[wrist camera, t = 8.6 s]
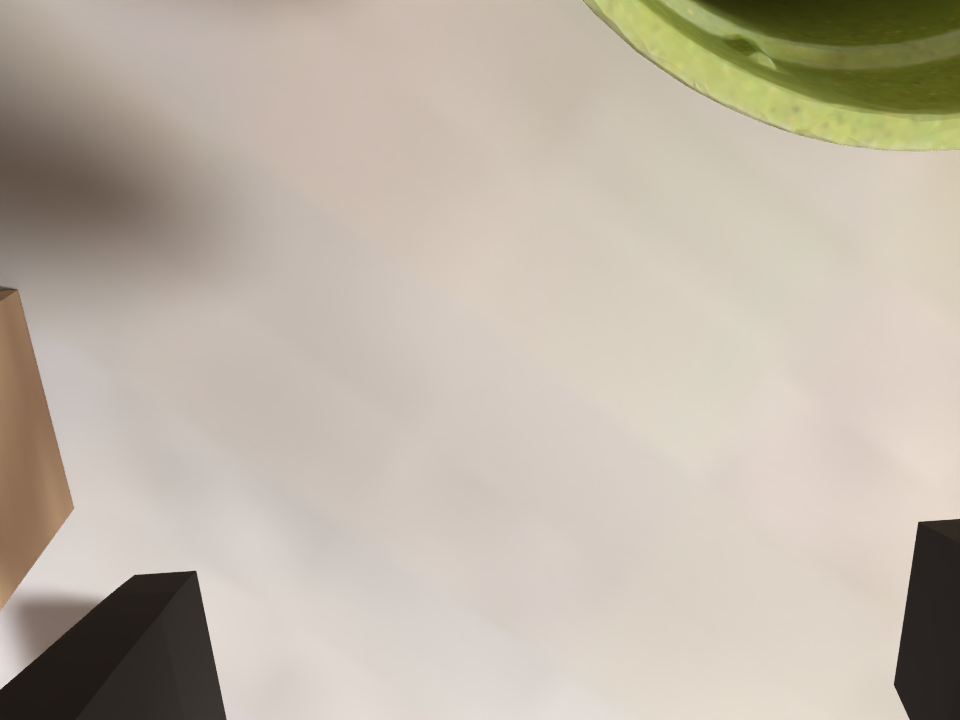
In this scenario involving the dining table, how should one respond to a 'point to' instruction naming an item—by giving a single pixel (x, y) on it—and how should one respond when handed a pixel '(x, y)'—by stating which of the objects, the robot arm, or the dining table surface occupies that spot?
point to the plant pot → (812, 63)
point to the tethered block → (25, 454)
